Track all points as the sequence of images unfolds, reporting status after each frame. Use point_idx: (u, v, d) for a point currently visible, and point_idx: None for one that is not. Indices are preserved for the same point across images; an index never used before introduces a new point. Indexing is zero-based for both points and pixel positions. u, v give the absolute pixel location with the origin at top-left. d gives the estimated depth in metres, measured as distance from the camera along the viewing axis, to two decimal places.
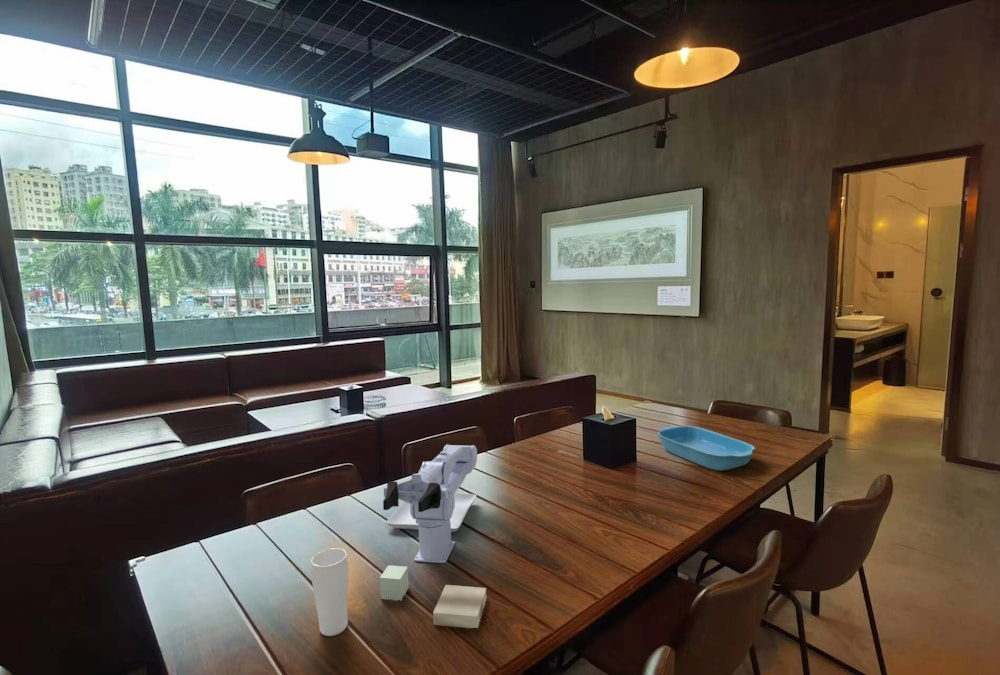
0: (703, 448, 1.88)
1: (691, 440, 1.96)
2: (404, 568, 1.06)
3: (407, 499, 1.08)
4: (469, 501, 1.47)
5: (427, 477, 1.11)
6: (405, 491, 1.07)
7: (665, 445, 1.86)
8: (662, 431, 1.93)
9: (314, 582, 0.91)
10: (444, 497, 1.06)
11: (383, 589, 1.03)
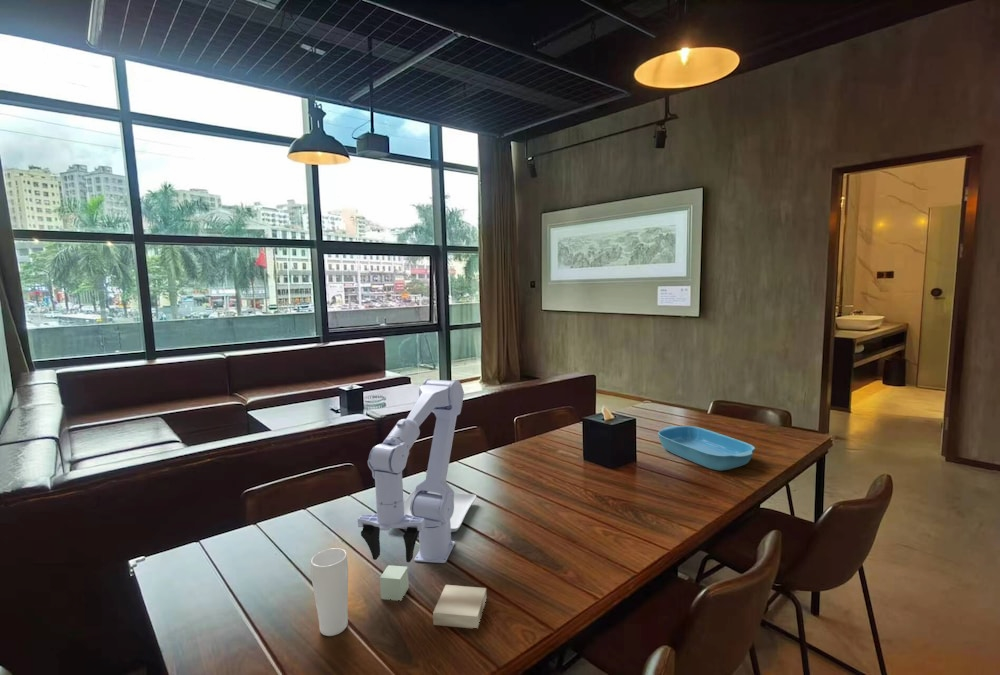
0: (703, 448, 1.88)
1: (691, 440, 1.96)
2: (404, 568, 1.06)
3: None
4: (469, 501, 1.47)
5: (393, 511, 1.01)
6: None
7: (665, 445, 1.86)
8: (662, 431, 1.93)
9: (314, 582, 0.91)
10: None
11: (383, 589, 1.03)
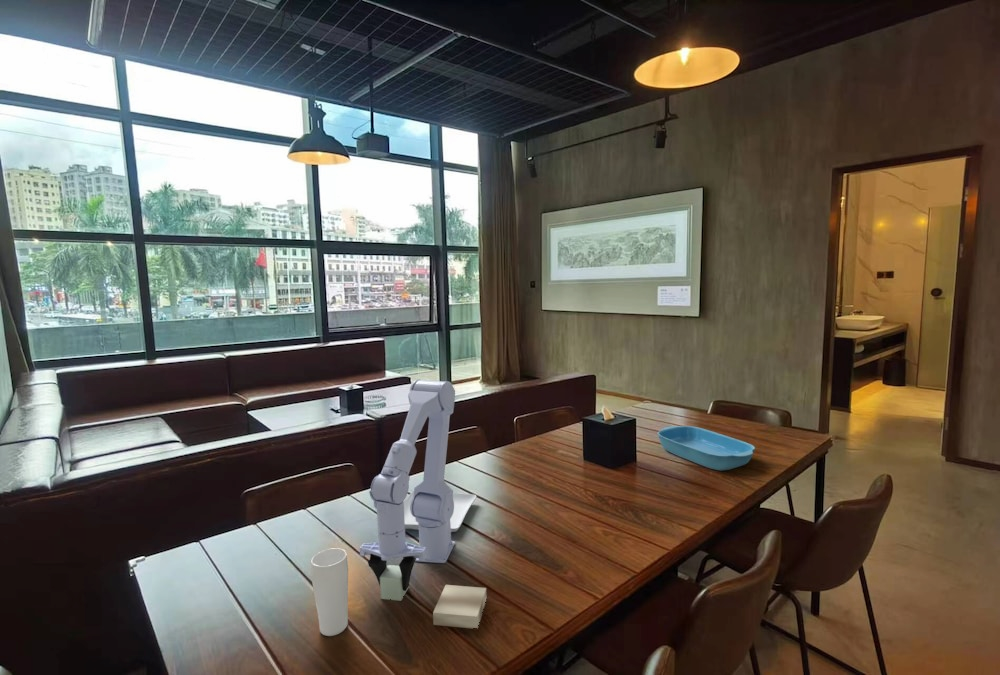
0: (703, 448, 1.88)
1: (690, 440, 1.96)
2: None
3: None
4: (469, 501, 1.47)
5: (395, 541, 1.02)
6: None
7: (665, 445, 1.86)
8: (662, 431, 1.93)
9: (314, 582, 0.91)
10: None
11: (382, 589, 1.03)
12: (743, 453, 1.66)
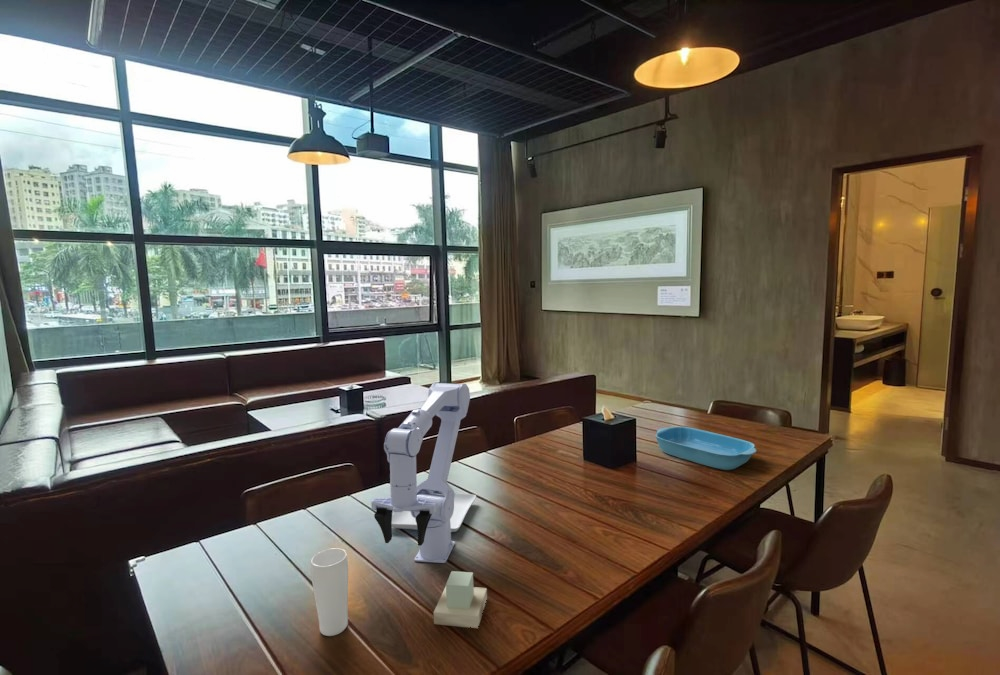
0: (698, 448, 1.88)
1: (682, 441, 1.96)
2: (470, 574, 0.99)
3: None
4: (469, 501, 1.47)
5: (407, 494, 1.04)
6: None
7: (666, 448, 1.83)
8: (658, 434, 1.90)
9: (314, 582, 0.91)
10: None
11: (449, 597, 0.96)
12: (749, 451, 1.68)
